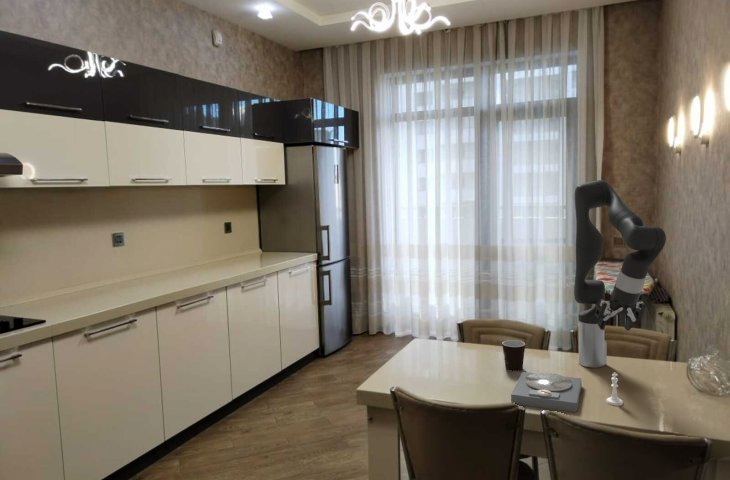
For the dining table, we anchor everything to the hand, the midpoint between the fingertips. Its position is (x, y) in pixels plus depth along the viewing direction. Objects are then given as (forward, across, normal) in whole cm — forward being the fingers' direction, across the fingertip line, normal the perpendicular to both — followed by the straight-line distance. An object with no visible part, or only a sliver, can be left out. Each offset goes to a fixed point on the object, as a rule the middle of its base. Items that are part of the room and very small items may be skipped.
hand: (613, 328), depth 165 cm
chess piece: (+22, -2, +10) cm, 24 cm away
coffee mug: (+37, +18, -24) cm, 47 cm away
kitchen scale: (+27, +16, +2) cm, 31 cm away
